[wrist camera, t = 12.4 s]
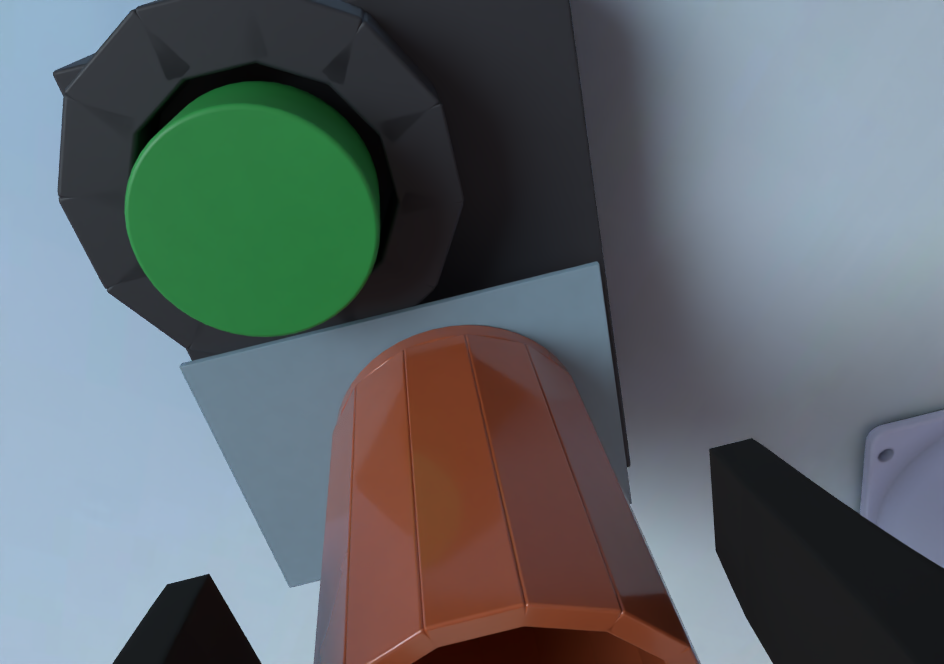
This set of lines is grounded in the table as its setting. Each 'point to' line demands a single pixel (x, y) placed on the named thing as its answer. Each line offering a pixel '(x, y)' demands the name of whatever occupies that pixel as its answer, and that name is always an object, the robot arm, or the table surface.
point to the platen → (338, 364)
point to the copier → (378, 124)
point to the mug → (482, 518)
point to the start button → (256, 210)
